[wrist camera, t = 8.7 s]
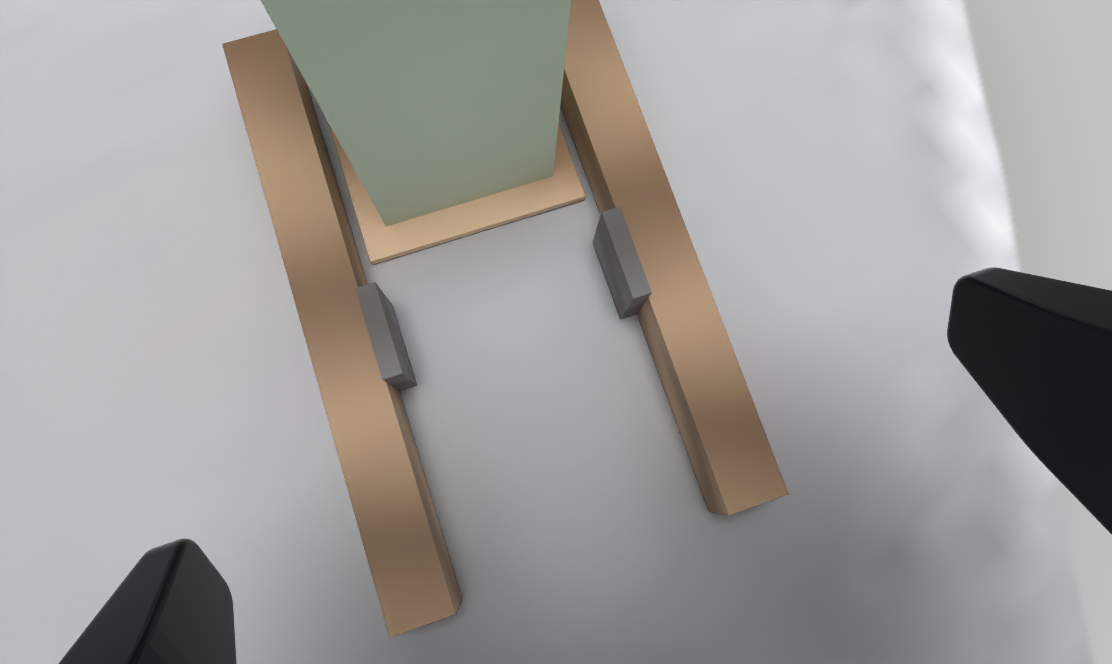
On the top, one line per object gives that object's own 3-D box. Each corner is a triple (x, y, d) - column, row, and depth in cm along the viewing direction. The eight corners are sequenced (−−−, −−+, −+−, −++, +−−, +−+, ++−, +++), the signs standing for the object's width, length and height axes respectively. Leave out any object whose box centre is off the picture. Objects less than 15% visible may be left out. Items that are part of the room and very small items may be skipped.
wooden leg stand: (762, 492, 20) (796, 494, 18) (403, 621, 19) (385, 642, 17) (573, -7, 23) (579, -65, 20) (249, 82, 22) (214, 33, 19)
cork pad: (584, 199, 21) (585, 195, 21) (372, 264, 21) (370, 261, 20) (520, 23, 22) (520, 17, 22) (316, 80, 22) (313, 74, 22)
